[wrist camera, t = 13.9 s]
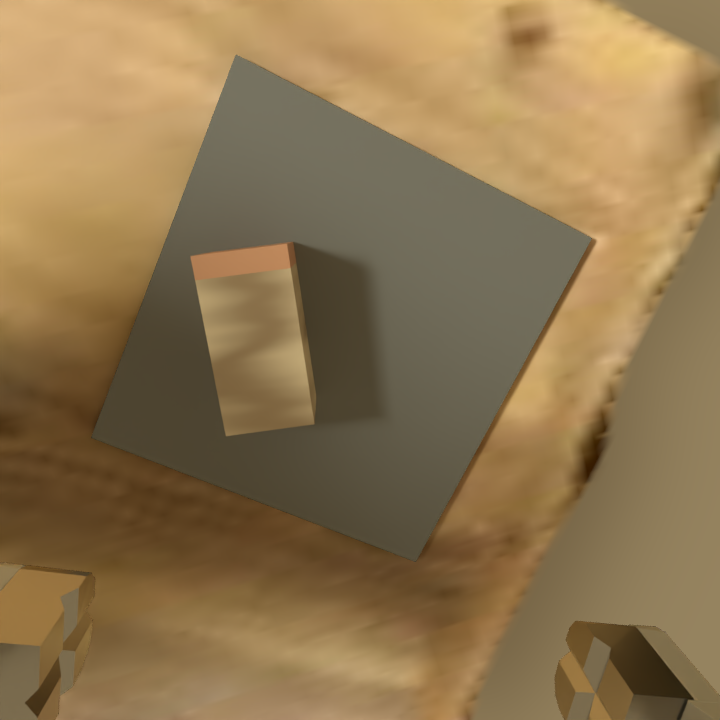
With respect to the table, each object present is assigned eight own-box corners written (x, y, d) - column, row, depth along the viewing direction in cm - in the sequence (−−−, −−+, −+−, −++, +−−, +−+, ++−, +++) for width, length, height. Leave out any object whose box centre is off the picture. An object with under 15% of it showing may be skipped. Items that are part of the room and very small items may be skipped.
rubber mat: (95, 434, 28) (91, 437, 28) (237, 58, 24) (235, 54, 24) (414, 556, 31) (415, 561, 30) (587, 238, 27) (592, 238, 27)
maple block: (226, 436, 24) (190, 256, 22) (240, 407, 28) (211, 252, 26) (314, 424, 24) (287, 243, 22) (316, 396, 28) (293, 241, 26)
